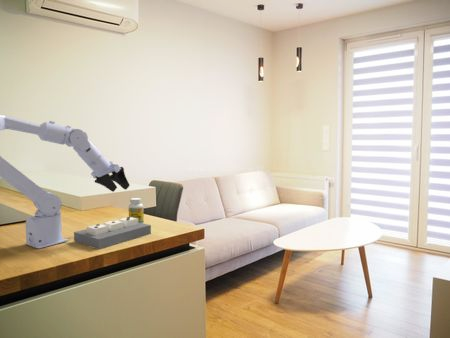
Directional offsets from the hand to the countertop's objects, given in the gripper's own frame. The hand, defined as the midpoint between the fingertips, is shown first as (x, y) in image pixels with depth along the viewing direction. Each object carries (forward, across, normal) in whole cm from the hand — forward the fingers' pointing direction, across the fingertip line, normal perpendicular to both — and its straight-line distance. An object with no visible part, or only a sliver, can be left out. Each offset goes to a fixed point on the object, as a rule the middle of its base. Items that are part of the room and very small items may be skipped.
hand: (121, 188), depth 123 cm
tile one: (+6, -3, +14) cm, 15 cm away
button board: (+8, -2, +15) cm, 17 cm away
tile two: (+3, -3, +19) cm, 19 cm away
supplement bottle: (+16, +6, +2) cm, 18 cm away
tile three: (+10, -3, +9) cm, 14 cm away
